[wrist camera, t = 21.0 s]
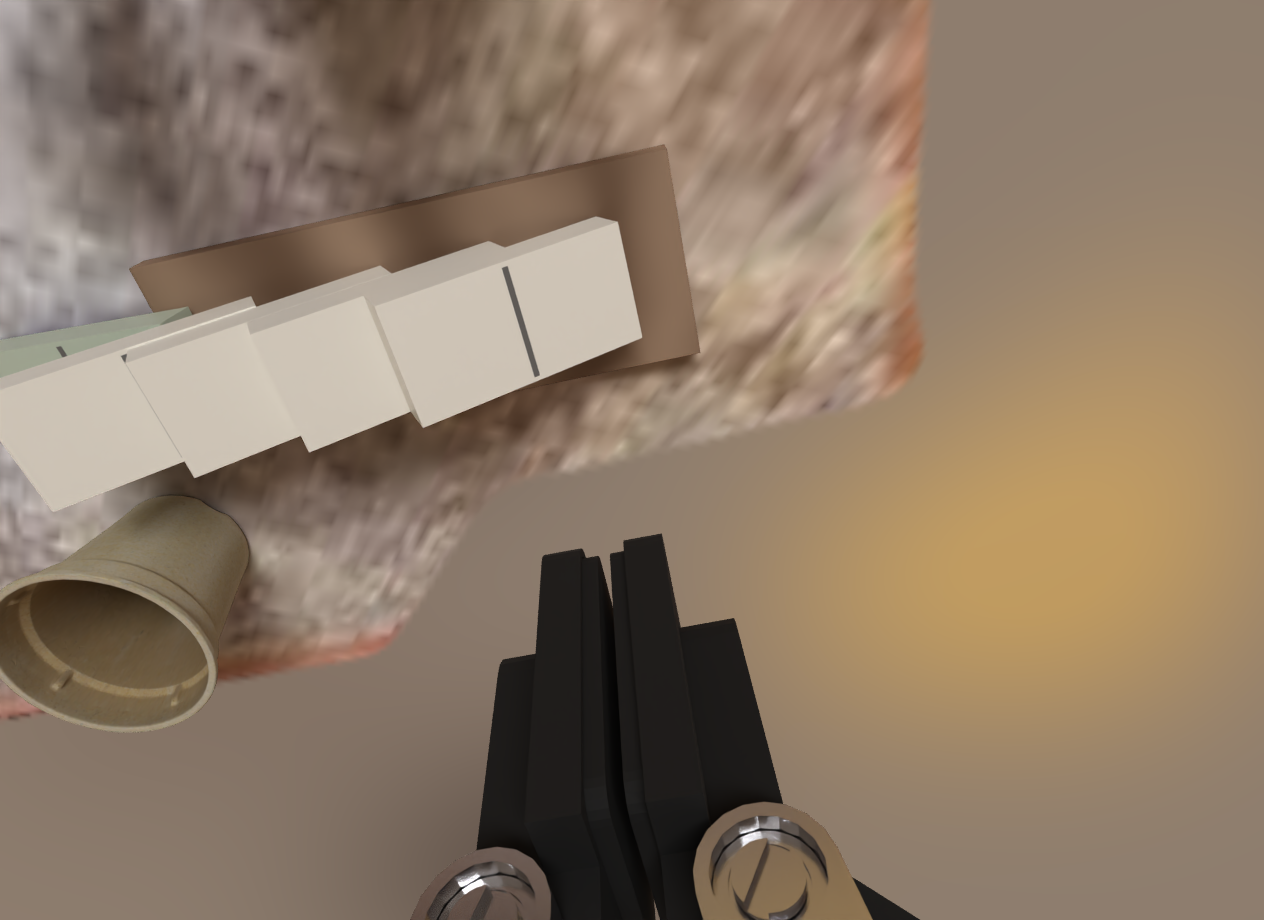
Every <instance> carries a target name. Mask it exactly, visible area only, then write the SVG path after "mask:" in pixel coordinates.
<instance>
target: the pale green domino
mask: <svg viewBox="0 0 1264 920" xmlns="http://www.w3.org/2000/svg"><path fill="white" fill-rule="evenodd" d="M191 315H192V313H191V311H190V309H189V307H183V308H178V309H172V310H166V311H161V312H155V313H149V314H144V315H138V316H133V317H127V318H121V319H116V320H110V321H104V322H99V323H93V324H87V325H82V326H76V327H70V328H65V329H59V330H54V331H48V332H42V333H37V334H31V335H25V336H20V337H14V338H8V339H3V340H0V378H1V377H4V376H7V375H11V374H14V373H17V372H20V371H23V370H26V369H29V368H32V367H35V366H38V365H41V364H44V363H47V362H50V361H53V360H56V359H60V358H63V357H66V356H69V355H72V354H75V353H78V352H81V351H84V350H87V349H90V348H93V347H96V346H99V345H102V344H106V343H109V342H112V341H115V340H118V339H121V338H124V337H127V336H130V335H133V334H136V333H139V332H142V331H145V330H148V329H152V328H155V327H158V326H161V325H164V324H167V323H170V322H173V321H176V320H179V319H182V318H185V317H188V316H191Z"/></svg>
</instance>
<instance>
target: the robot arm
mask: <svg viewBox="0 0 1264 920" xmlns="http://www.w3.org/2000/svg"><path fill="white" fill-rule="evenodd" d="M623 543H624V551H622V552H617V553H611V554H610V564H611V581H612V598H613V606H612V602H611V599H610V595H609V591H608V587H607V583H606V579H605V575H604V572H603V568H602V564H601V561H600V558H599V556H595V557H590V558H586V557H585V554H584V551H583V549H575V550H570V551H564V552H559V553H554V554H548V555H544V556H543V558H542V565H541V581H540V596H539V610H538V625H537V640H536V654H532V655H526V656H520V657H516V658H509V659H504V660H502V662H501V664H500V667H499V672H498V678H497V687H496V695H495V703H494V712H493V719H492V727H491V735H490V744H489V752H488V760H487V768H486V776H485V785H484V793H483V801H482V809H481V817H480V826H479V834H478V842H477V850H476V851H474V852H472V853H470V854H468V855H466V856H464V857H461V858H459V859H457V860H455V861H454V862H453V863H452V864H450V865H449V866H448V867H447V868H446V869H444V870H443V871H442V872H441V873H440V874H438V875H437V876H436V877H435V879H434V880H433V881H432V882H431V884H430V885H429V886H428V888H427V889H426V890H425V891H424V893H423V894H422V895H421V897H420V899H419V901H418V904H417V906H416V908H415V910H414V912H413V914H412V917H411V919H410V920H655V908H654V901H655V904H656V908H657V910H658V914H659V917H660V920H920V919H918V918H916V917H915V916H913V915H912V914H910V913H908V912H907V911H905V910H904V909H902V908H900V907H899V906H897V905H896V904H894V903H892V902H891V901H889V900H888V899H886V898H884V897H883V896H881V895H880V894H878V893H877V892H875V891H874V890H872V889H870V888H869V887H867V886H866V885H864V884H862V883H861V882H859V881H858V880H856V879H854V878H853V877H852V876H851V874H850V872H849V870H848V868H847V866H846V864H845V862H844V860H843V858H842V855H841V853H840V851H839V849H838V847H837V846H836V844H835V843H834V841H833V840H832V838H831V837H830V835H829V834H828V832H827V831H826V829H825V828H824V827H823V826H821V825H820V824H819V823H818V822H817V821H815V820H814V819H813V818H812V817H810V816H809V815H808V814H807V813H805V812H802V811H800V810H798V809H795V808H793V807H791V806H788V805H786V804H783V802H782V797H781V794H780V790H779V786H778V782H777V779H776V774H775V771H774V767H773V763H772V760H771V755H770V752H769V748H768V744H767V740H766V737H765V732H764V729H763V725H762V721H761V717H760V713H759V709H758V706H757V702H756V698H755V694H754V690H753V686H752V683H751V679H750V675H749V671H748V667H747V664H746V660H745V656H744V652H743V648H742V644H741V640H740V637H739V633H738V629H737V626H736V622H735V620H734V618H732V619H727V620H721V621H715V622H710V623H704V624H699V625H693V626H688V627H682V628H681V627H680V622H679V617H678V612H677V607H676V603H675V597H674V593H673V587H672V582H671V577H670V572H669V567H668V562H667V557H666V552H665V547H664V542H663V537H662V534H657V535H651V536H646V537H640V538H635V539H629V540H624V542H623Z"/></svg>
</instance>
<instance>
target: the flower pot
mask: <svg viewBox="0 0 1264 920" xmlns="http://www.w3.org/2000/svg"><path fill="white" fill-rule="evenodd" d="M248 559H249V550H248V545H247V541H246V539H245V536H244V534H243V533H242V531H241V529H240V528H239V526H238V525H237V524H236V523H235V522H234V521H233V519H232V518H230V517H229V516H228V515H226V514H224V513H220V512H218V511H216V510H214V509H212V508H210V507H209V506H207V505H206V504H204V503H203V502H202V501H201V500H199V499H195V498H191V497H185V496H170V495H169V496H160V497H156V498H152V499H149V500H146V501H144V502H142V503H140V504H139V505H137V506H136V507H134V508H133V509H132V510H131V511H130V512H129V513H127V514H126V515H125V516H124V517H122V518H121V519H120V520H118V521H117V522H116V523H114V524H113V525H112V526H111V527H109V528H108V529H107V530H105V531H104V532H102V533H101V534H100V535H98V536H97V537H96V538H94V539H93V540H92V541H90V542H89V543H88V544H86V545H85V546H83V547H82V548H81V549H79V550H78V551H77V552H75V553H74V554H73V555H71V556H70V557H68V558H67V559H66V560H64V561H63V562H62V563H59V564H56V565H53V566H50V567H48V568H46V569H44V570H42V571H41V572H39V573H36V574H32V575H29V576H26V577H23V578H21V579H18V580H16V581H14V582H12V583H11V584H9V585H7V586H6V587H4V588H3V589H2V590H0V679H1V680H3V681H4V683H5V684H6V685H7V686H8V687H9V688H10V689H11V690H13V691H14V692H15V693H16V694H17V695H19V696H20V697H22V698H23V699H24V700H25V701H27V702H28V703H30V704H31V705H33V706H35V707H37V708H39V709H40V710H42V711H44V712H47V713H48V714H50V715H52V716H55V717H57V718H59V719H63V720H64V721H67V722H70V723H74V724H77V725H81V726H84V727H87V728H90V729H98V730H104V731H111V732H123V733H124V732H143V731H151V730H156V729H161V728H165V727H169V726H172V725H175V724H177V723H180V722H182V721H184V720H186V719H188V718H190V717H191V716H193V715H194V714H195V713H197V712H198V711H199V710H200V709H201V708H202V707H203V706H204V705H205V704H206V703H207V701H208V700H209V698H210V697H211V695H212V693H213V691H214V688H215V686H216V683H217V677H218V663H217V659H218V653H219V642H218V641H219V638H220V635H221V632H222V630H223V627H224V624H225V622H226V619H227V616H228V614H229V611H230V608H231V605H232V603H233V600H234V597H235V595H236V592H237V589H238V587H239V584H240V582H241V579H242V576H243V574H244V572H245V570H246V567H247V564H248Z"/></svg>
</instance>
